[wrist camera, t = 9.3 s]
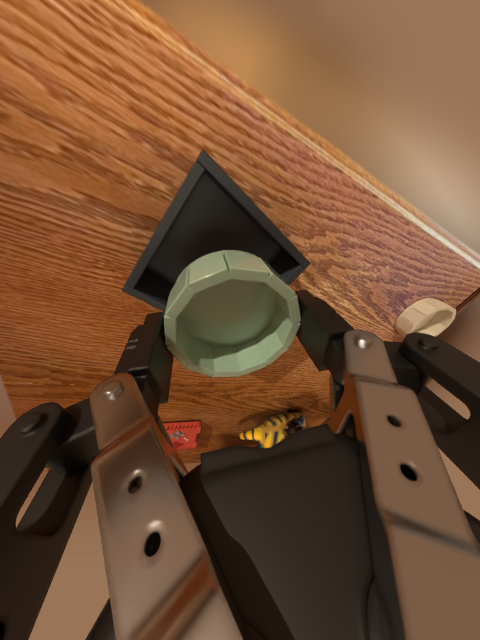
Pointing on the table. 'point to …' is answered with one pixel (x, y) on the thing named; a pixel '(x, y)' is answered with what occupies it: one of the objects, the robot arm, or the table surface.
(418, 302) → the cream dish
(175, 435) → the handheld gaming console
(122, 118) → the table surface
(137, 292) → the tub
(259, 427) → the dog figurine
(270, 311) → the celadon dish
